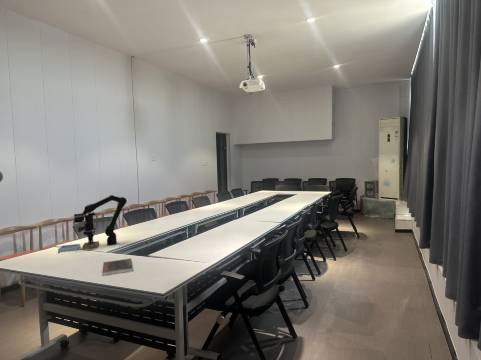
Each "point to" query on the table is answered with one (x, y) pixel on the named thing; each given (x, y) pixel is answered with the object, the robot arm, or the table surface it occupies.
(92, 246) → the socket block
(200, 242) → the table surface
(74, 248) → the tray
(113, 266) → the picture frame
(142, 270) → the table surface
